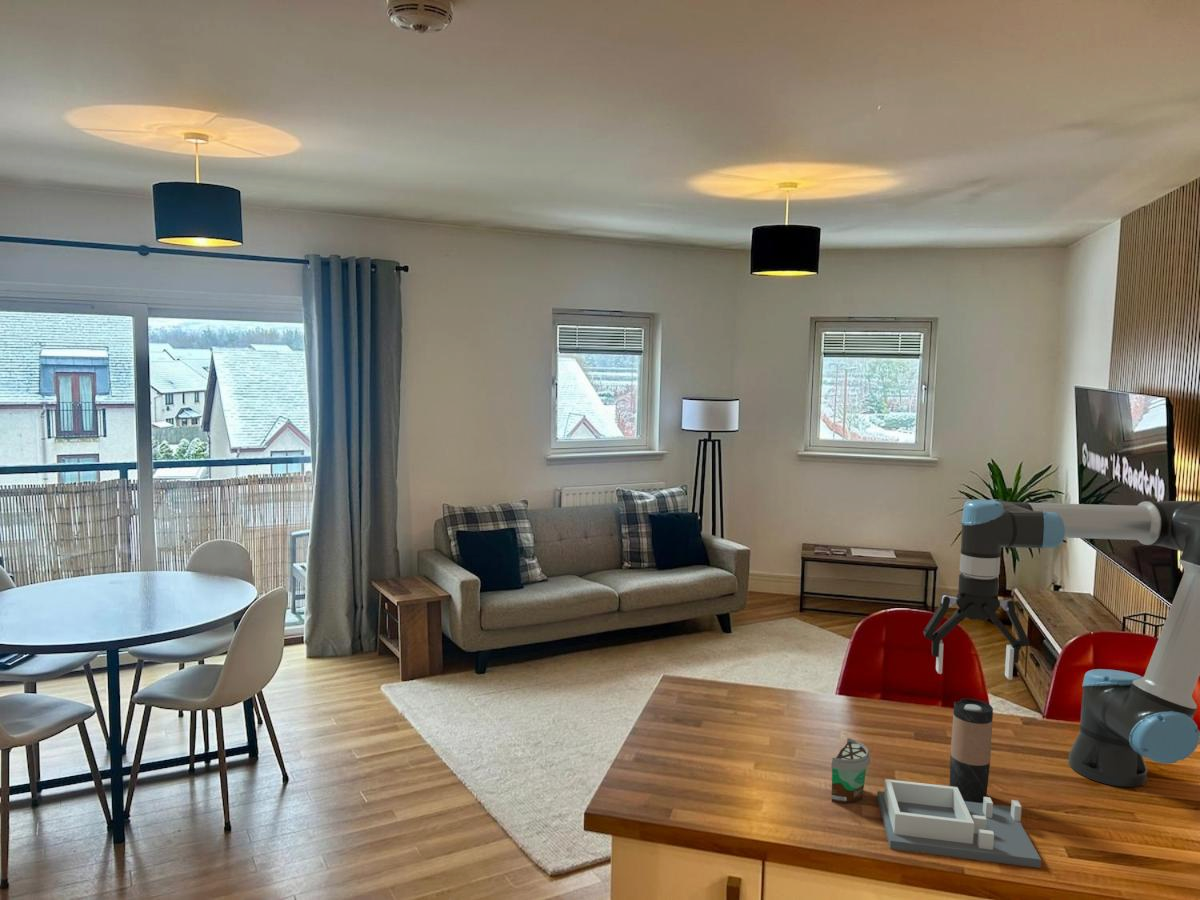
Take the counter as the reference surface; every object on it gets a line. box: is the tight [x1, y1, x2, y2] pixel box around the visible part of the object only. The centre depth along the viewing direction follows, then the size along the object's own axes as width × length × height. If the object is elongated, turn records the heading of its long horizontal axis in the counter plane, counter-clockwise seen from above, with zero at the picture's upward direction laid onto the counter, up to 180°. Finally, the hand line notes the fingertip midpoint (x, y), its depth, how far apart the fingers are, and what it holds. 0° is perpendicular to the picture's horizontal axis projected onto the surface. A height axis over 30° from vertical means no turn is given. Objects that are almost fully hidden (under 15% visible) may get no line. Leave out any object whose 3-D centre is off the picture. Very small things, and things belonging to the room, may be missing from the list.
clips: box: [972, 796, 1023, 850], centre depth 159 cm, size 10×14×3 cm
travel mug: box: [949, 698, 994, 803], centre depth 174 cm, size 8×8×20 cm
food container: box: [830, 737, 871, 805], centre depth 173 cm, size 12×6×10 cm, turn 148°
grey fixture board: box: [876, 790, 1042, 869], centre depth 161 cm, size 26×19×2 cm
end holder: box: [883, 778, 974, 844], centre depth 162 cm, size 14×14×4 cm
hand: (973, 674), depth 173 cm, fingers open, 13 cm apart
